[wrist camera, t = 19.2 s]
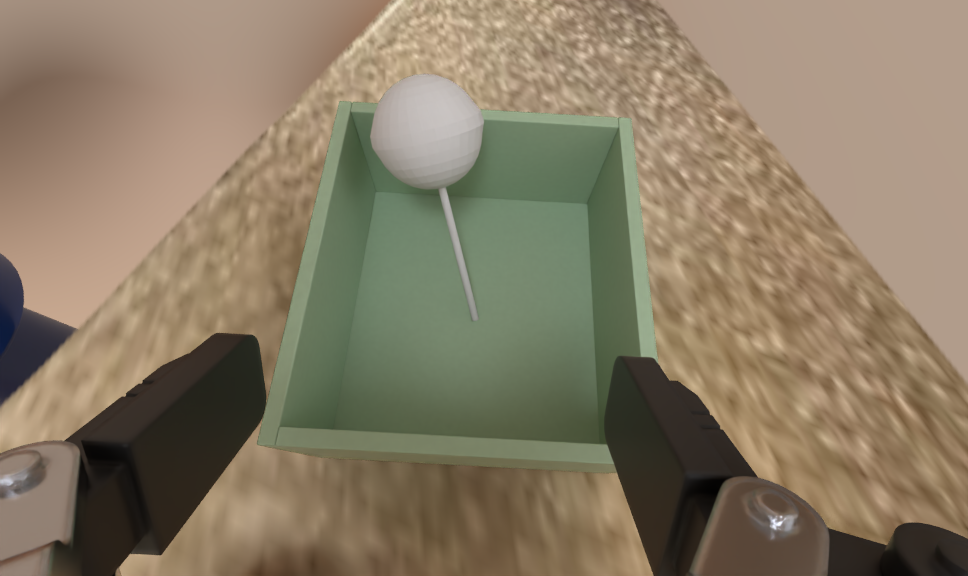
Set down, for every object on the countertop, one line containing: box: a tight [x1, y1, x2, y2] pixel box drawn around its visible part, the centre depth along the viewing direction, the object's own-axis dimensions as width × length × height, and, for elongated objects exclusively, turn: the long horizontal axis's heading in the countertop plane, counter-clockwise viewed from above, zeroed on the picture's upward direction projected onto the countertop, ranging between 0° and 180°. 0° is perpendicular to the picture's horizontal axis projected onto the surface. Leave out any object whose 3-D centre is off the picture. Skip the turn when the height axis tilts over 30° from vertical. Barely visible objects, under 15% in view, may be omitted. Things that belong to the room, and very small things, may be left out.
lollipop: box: [370, 74, 484, 321], centre depth 26 cm, size 6×6×15 cm
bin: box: [257, 101, 658, 473], centre depth 27 cm, size 18×20×9 cm
